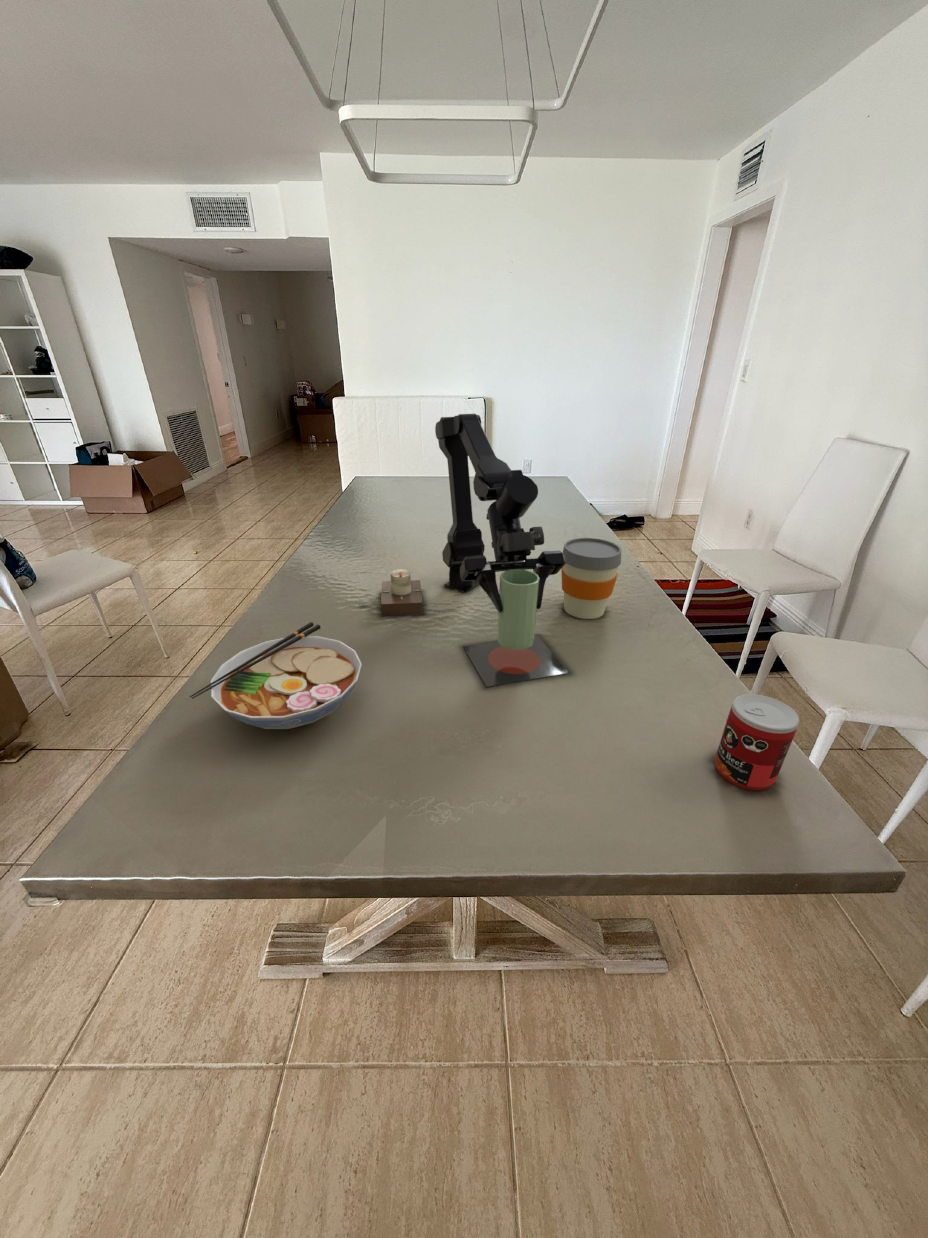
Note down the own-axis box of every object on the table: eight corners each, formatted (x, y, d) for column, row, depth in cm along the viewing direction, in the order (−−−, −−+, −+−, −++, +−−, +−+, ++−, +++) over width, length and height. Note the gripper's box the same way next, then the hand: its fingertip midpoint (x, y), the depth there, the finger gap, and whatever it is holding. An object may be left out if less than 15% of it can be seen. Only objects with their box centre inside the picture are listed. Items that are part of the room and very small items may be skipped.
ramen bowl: (282, 785, 71) (272, 739, 67) (182, 726, 81) (168, 683, 78) (397, 693, 90) (394, 653, 86) (303, 654, 100) (297, 617, 96)
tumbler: (501, 629, 101) (505, 567, 95) (536, 634, 100) (542, 571, 93) (493, 646, 95) (496, 582, 89) (530, 652, 94) (536, 587, 88)
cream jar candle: (391, 587, 120) (390, 568, 118) (410, 586, 121) (410, 567, 118) (391, 595, 116) (390, 576, 114) (411, 595, 117) (410, 575, 114)
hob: (463, 647, 103) (463, 646, 103) (537, 636, 107) (537, 635, 107) (486, 687, 91) (486, 686, 91) (568, 673, 96) (568, 672, 96)
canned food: (703, 754, 77) (722, 694, 72) (754, 751, 78) (776, 692, 73) (731, 794, 71) (753, 731, 65) (786, 790, 71) (813, 728, 66)
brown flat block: (382, 592, 125) (381, 580, 123) (420, 591, 126) (419, 579, 124) (381, 616, 114) (380, 603, 113) (422, 614, 115) (422, 601, 114)
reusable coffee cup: (614, 602, 122) (624, 541, 114) (609, 626, 111) (620, 561, 104) (561, 594, 125) (567, 534, 118) (551, 617, 115) (558, 553, 108)
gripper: (463, 512, 88) (477, 600, 83) (568, 507, 91) (585, 591, 87) (454, 540, 98) (466, 619, 94) (548, 535, 102) (563, 611, 98)
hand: (519, 610), depth 93 cm, fingers closed on tumbler, 7 cm apart
